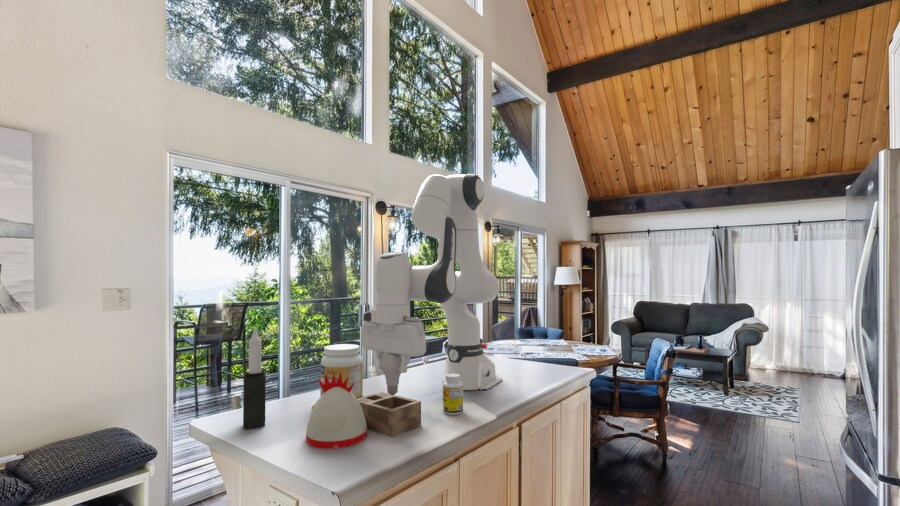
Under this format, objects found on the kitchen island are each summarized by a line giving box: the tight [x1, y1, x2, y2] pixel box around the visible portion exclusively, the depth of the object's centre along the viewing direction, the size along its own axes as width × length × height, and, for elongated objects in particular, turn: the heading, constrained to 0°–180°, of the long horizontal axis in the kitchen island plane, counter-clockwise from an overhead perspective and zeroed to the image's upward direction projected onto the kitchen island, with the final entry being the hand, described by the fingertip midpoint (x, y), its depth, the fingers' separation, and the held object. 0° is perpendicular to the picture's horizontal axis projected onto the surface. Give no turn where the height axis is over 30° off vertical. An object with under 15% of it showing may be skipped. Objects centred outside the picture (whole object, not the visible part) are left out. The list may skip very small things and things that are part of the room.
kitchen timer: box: [305, 373, 368, 450], centre depth 104 cm, size 14×14×15 cm
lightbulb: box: [380, 352, 403, 395], centre depth 111 cm, size 6×6×11 cm
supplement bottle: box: [442, 374, 464, 416], centre depth 122 cm, size 6×6×10 cm
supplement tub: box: [320, 343, 364, 398], centre depth 130 cm, size 12×12×17 cm
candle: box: [242, 326, 267, 430], centre depth 113 cm, size 5×5×25 cm
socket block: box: [357, 391, 422, 438], centre depth 112 cm, size 10×15×6 cm, turn 51°
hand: (392, 370), depth 111 cm, fingers closed on lightbulb, 6 cm apart
